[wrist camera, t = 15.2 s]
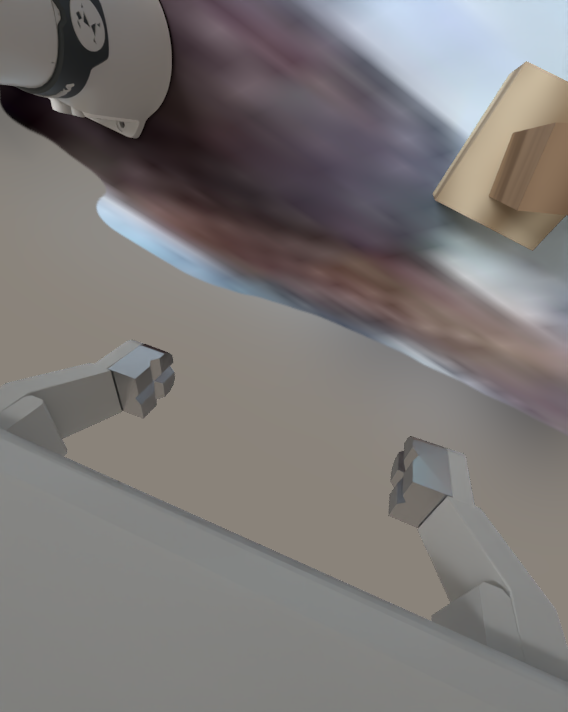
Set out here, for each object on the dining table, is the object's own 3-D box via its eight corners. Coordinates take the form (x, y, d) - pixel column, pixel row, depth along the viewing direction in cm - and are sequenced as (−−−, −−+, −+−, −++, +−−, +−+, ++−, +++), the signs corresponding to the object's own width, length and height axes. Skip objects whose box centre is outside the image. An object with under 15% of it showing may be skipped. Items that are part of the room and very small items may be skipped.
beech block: (432, 193, 36) (435, 200, 31) (508, 74, 29) (526, 61, 25) (516, 237, 36) (532, 250, 31) (614, 127, 29) (652, 123, 24)
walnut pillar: (488, 196, 30) (517, 210, 22) (512, 132, 27) (555, 122, 19) (547, 201, 29) (601, 218, 21) (579, 135, 26) (655, 126, 18)
